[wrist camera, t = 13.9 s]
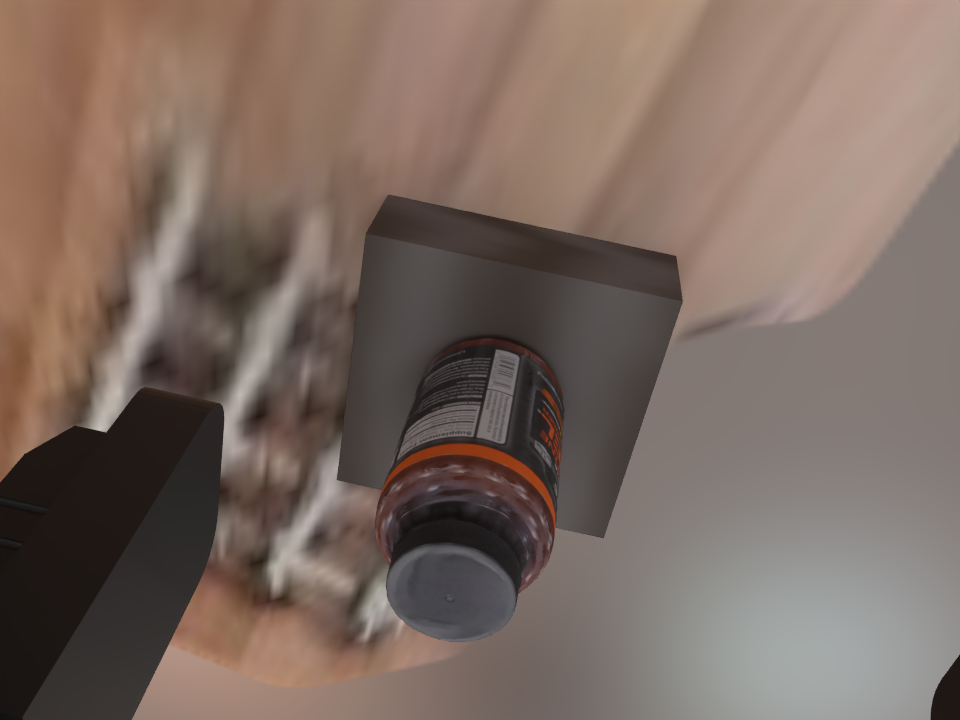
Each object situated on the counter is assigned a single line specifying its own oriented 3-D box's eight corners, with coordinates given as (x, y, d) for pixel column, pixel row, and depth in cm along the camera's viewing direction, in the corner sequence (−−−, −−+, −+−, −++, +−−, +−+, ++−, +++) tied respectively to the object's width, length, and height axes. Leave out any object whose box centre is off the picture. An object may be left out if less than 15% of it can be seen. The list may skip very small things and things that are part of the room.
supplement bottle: (577, 447, 38) (565, 665, 28) (438, 461, 39) (381, 674, 29) (552, 321, 35) (529, 515, 25) (403, 340, 36) (327, 532, 26)
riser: (358, 427, 44) (336, 480, 40) (388, 194, 37) (366, 233, 34) (604, 480, 43) (603, 537, 40) (676, 256, 37) (682, 301, 34)
